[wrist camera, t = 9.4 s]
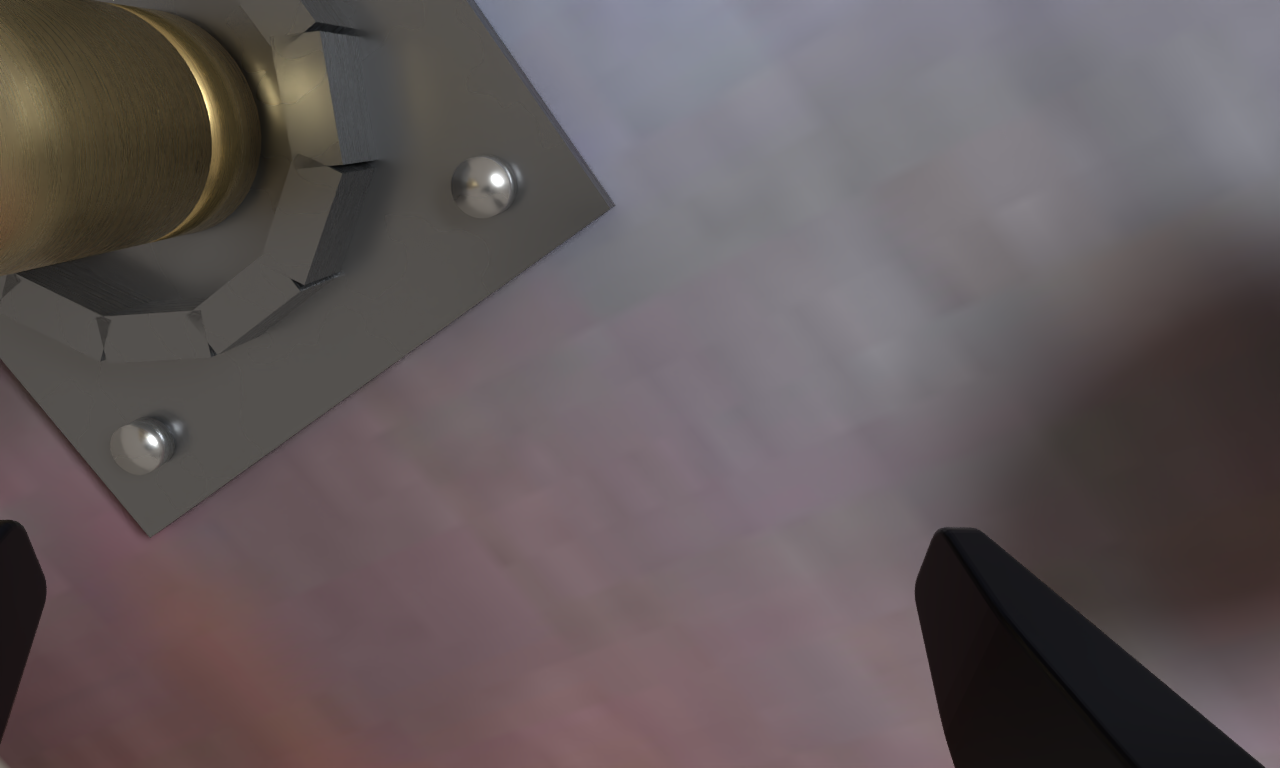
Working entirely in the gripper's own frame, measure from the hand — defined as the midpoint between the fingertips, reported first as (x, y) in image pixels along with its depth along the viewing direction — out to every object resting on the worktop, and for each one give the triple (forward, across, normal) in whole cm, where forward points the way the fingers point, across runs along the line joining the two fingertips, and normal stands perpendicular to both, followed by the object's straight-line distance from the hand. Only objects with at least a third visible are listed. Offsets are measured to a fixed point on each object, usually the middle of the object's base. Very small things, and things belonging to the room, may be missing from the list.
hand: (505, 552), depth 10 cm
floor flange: (+14, +8, +1) cm, 16 cm away
